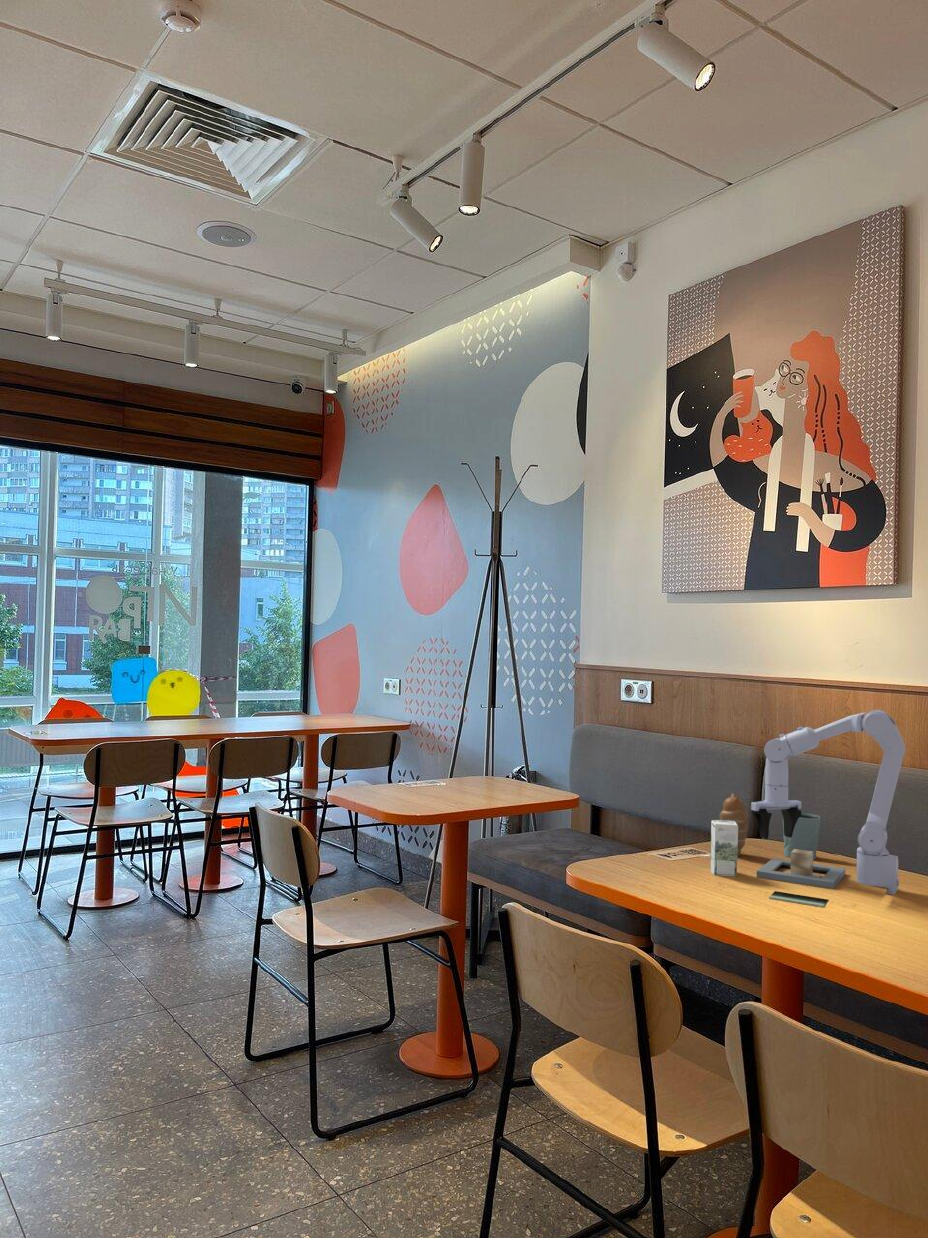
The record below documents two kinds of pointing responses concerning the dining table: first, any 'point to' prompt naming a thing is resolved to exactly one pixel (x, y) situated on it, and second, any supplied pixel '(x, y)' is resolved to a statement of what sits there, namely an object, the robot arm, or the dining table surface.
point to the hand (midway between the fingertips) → (776, 837)
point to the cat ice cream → (736, 818)
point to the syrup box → (724, 848)
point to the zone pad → (798, 899)
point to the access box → (826, 882)
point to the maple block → (802, 862)
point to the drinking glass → (803, 835)
